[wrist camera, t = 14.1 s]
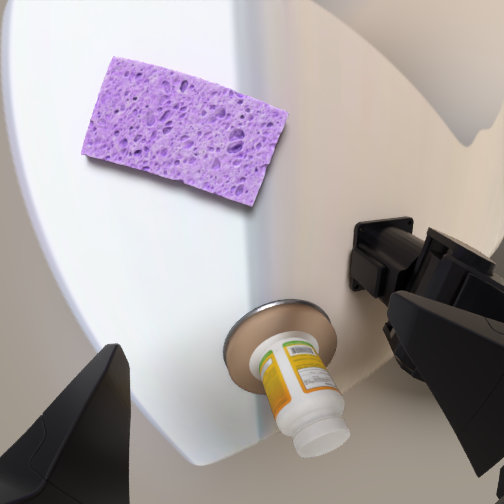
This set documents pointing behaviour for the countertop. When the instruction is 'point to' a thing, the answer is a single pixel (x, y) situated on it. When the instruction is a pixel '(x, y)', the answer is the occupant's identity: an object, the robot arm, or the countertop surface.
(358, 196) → the countertop surface
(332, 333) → the turntable platter
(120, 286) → the countertop surface
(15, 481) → the robot arm
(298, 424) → the supplement bottle
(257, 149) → the purple sponge
